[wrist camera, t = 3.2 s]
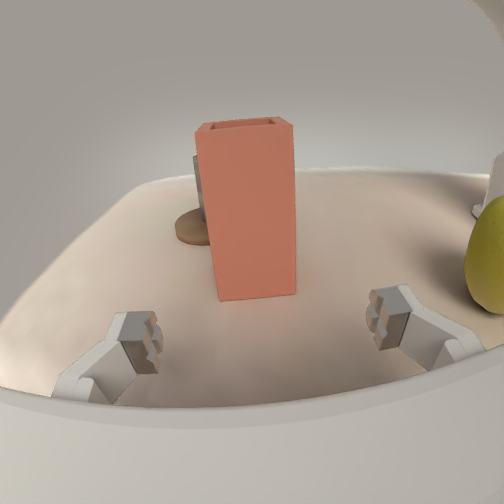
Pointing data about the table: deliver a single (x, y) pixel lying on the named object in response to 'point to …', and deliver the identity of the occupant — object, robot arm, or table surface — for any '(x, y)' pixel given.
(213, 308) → the table surface
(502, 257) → the apple
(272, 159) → the red square vase
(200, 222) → the shaft post
